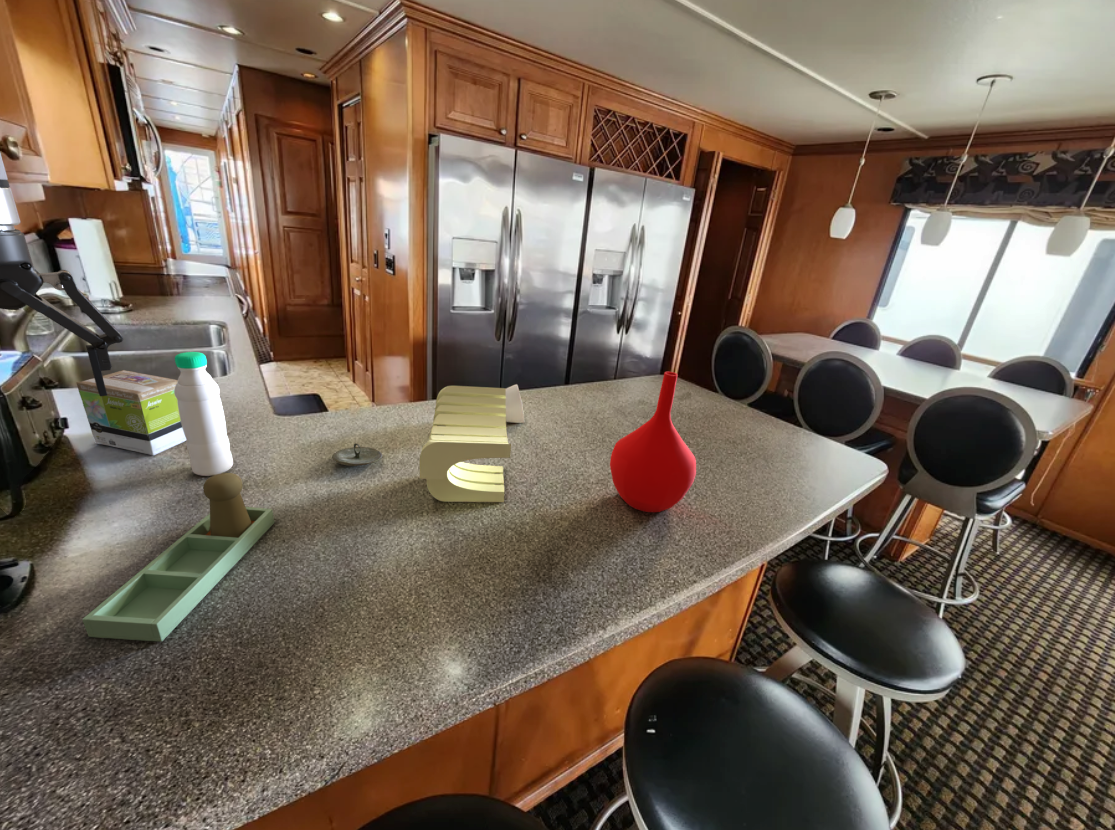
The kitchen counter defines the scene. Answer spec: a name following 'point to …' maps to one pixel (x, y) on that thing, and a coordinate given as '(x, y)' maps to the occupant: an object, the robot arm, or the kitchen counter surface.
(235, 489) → the cork
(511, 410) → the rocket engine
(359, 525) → the kitchen counter surface
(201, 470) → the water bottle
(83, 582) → the kitchen counter surface
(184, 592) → the compartment tray
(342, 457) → the lid
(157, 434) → the tea box
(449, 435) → the slatted curved stool
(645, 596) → the kitchen counter surface
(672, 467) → the vase
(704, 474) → the kitchen counter surface
